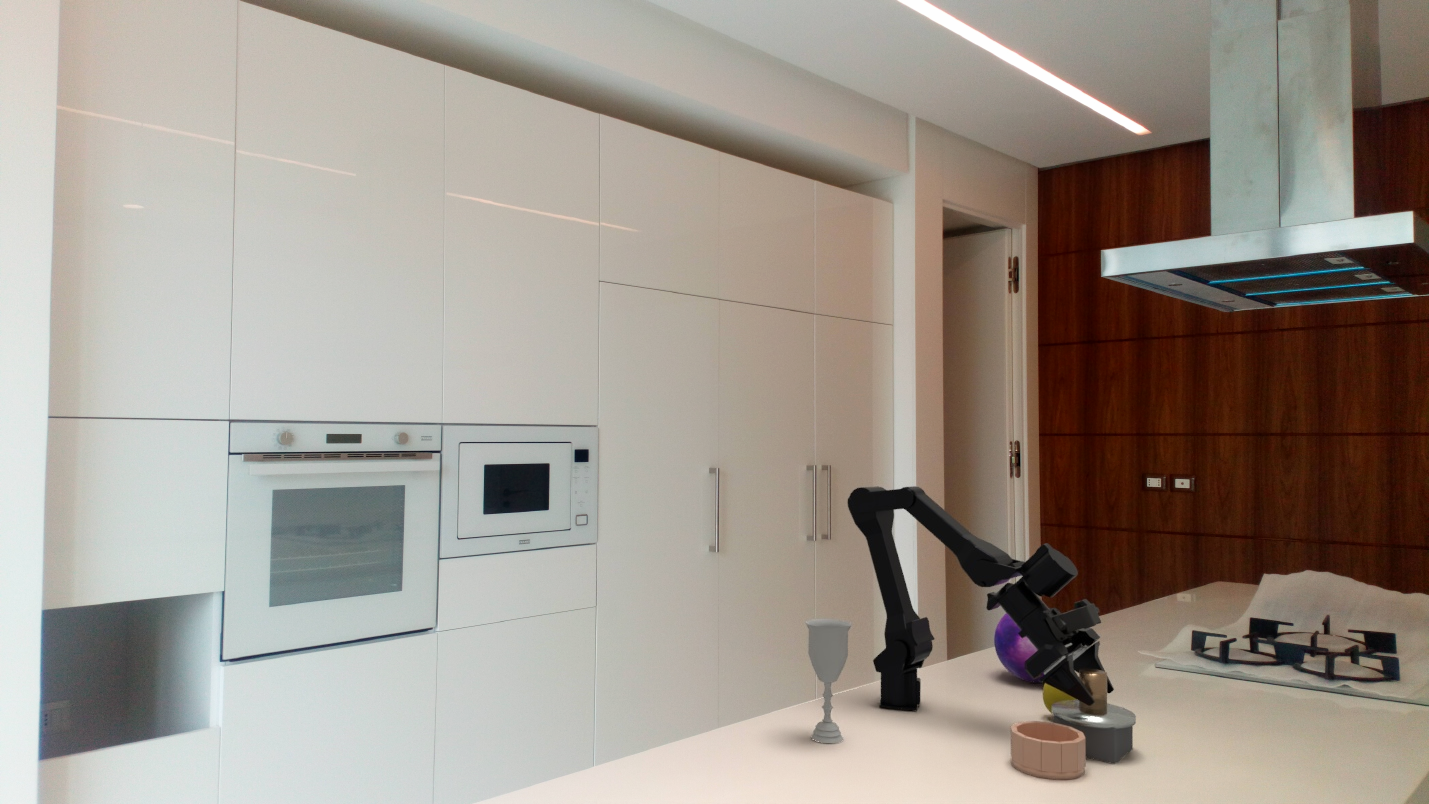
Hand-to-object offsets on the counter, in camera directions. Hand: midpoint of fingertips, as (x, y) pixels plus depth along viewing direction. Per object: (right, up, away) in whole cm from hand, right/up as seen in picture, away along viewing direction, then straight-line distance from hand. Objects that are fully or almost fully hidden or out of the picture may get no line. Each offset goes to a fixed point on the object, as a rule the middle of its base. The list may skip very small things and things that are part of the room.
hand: (1102, 697), depth 139 cm
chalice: (-42, -8, +3) cm, 43 cm away
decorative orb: (+4, -10, +40) cm, 42 cm away
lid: (-1, -3, +1) cm, 3 cm away
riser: (-1, -8, +1) cm, 8 cm away
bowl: (-11, -8, -7) cm, 15 cm away
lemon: (-1, -9, +16) cm, 18 cm away
